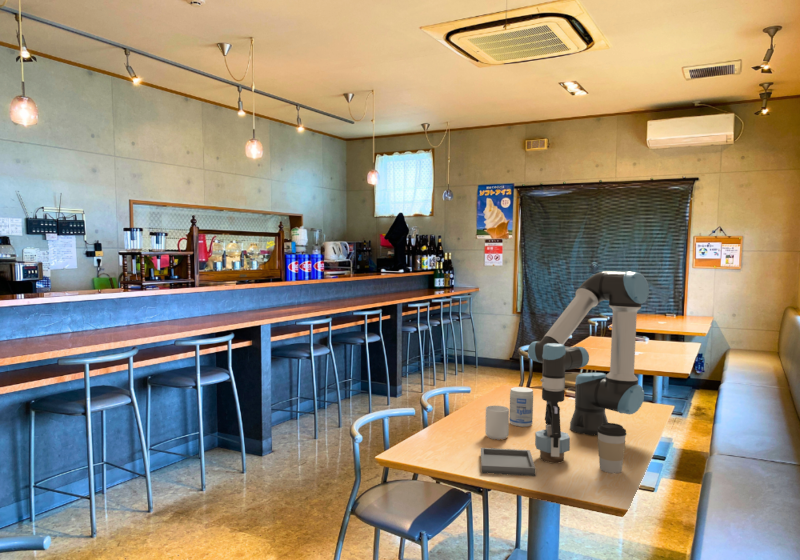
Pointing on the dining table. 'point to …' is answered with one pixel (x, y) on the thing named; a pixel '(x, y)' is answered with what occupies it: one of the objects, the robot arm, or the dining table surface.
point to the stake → (547, 456)
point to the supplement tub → (521, 406)
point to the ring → (545, 442)
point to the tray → (507, 461)
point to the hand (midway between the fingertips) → (552, 449)
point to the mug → (497, 422)
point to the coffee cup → (611, 447)
